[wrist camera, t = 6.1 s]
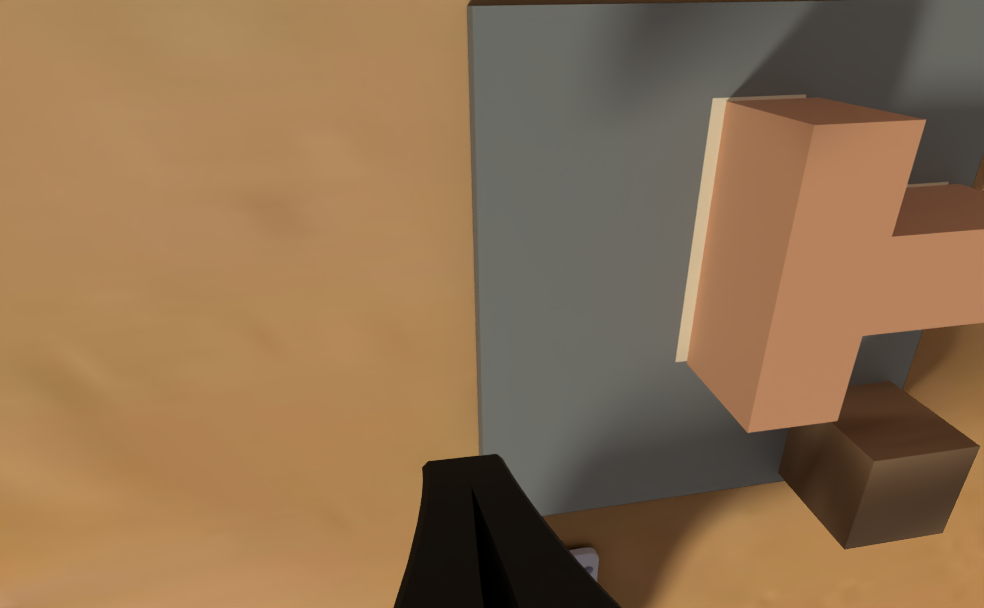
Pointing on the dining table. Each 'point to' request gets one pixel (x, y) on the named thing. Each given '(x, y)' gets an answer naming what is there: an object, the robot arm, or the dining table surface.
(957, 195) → the t block
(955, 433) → the walnut cube
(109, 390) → the dining table surface
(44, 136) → the dining table surface
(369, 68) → the dining table surface
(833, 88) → the board
